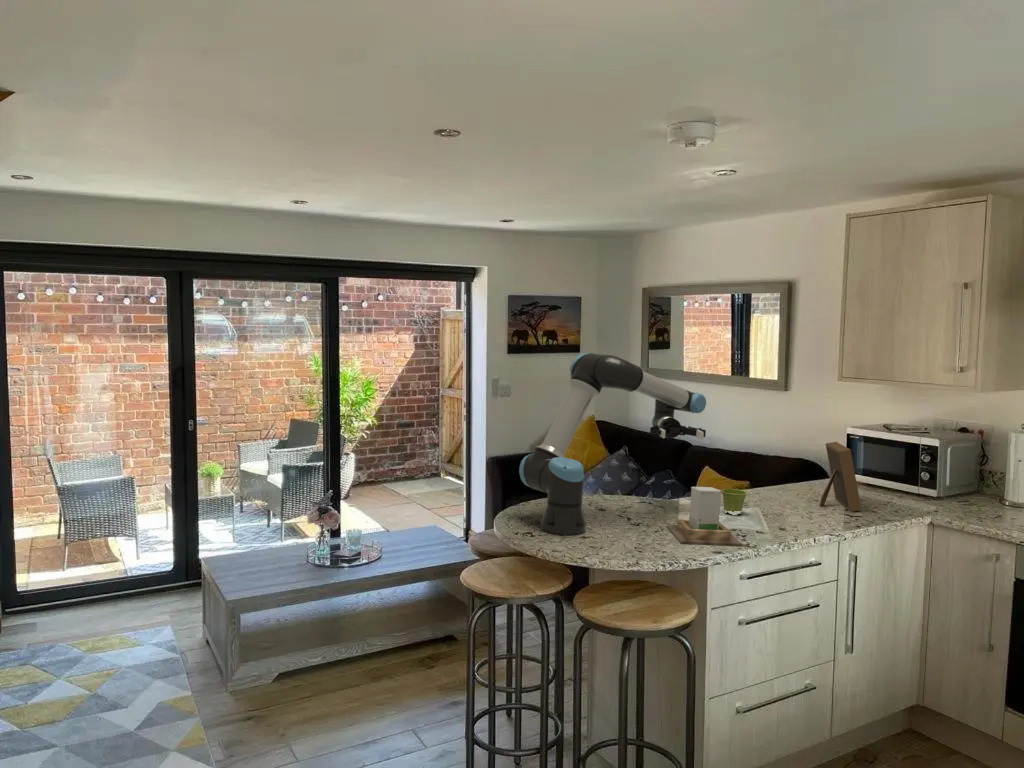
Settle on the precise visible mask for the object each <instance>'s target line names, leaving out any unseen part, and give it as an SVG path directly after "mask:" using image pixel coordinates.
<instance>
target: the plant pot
mask: <svg viewBox="0 0 1024 768" xmlns="http://www.w3.org/2000/svg"><path fill="white" fill-rule="evenodd" d="M720 491H721V494H722V497H723V511H724V510H726V511H732V512H734V511H743V507H744V502H745V499H746V496H747V495H748V492H747V491H745V490H742V489H736V488H735V489H734V488H723V489H721V490H720Z"/></svg>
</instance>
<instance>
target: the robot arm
mask: <svg viewBox="0 0 1024 768" xmlns="http://www.w3.org/2000/svg"><path fill="white" fill-rule="evenodd" d="M569 372H570V373H569V375H570V380H569V383H570V389H569V390H568V393H567V395H566V397H565V399H564V400H563V402H562V405H561V406H560V408H559V410H558V412H557V415H556V417H555V419H554V420H553V422H552V424H551V426H550V429H549V430H548V433H547V434H546V436H545V438H544V440H543V442H542V443H541V444H540V445H537V446H535V448H534V451H533V452H532V453H529V454H528V455H525V456H524V457H523V459H522V460H521V461H520V465H519V470H518V472H519V473H518V474H519V476H520V477H519V478H520V480H521V482H522V483H523V484H524V485H525V486H527V487H528V488H530V489H531V490H535V491H540V492H543V493H545V494H547V503H546V507H545V509H544V513H543V515H542V518H541V520H540V529H541V530H542V531H544V532H547V533H550V534H554V535H562V536H571V535H572V536H573V535H574V536H575V535H580V534H583V533H585V532H586V529H587V523H586V520H585V516H584V512H583V508H582V505H583V490H584V489H583V488H584V478H585V474H584V466H583V464H582V463H581V462H580V461H578V460H577V459H576V460H575V459H573V458H568V457H565V454H566V452H567V450H568V448H569V447H570V444H571V442H572V440H573V438H574V435H575V434H576V432H577V431H578V428H579V426H580V424H581V421H582V419H583V418H584V416H585V414H586V412H587V410H588V407H589V406H590V403H591V402H592V399H594V398H595V397H598V396H599V395H600V394H601V391H602V389H603V388H606V389H607V388H608V389H619V390H622V391H623V390H625V391H627V392H629V393H631V392H637V393H639V394H642V395H644V396H647V397H649V398H652V399H654V400H655V401H654V415H653V417H652V419H651V424H652V425H651V427H650V429H649V435H654V437H655V438H658V437H660V438H662V439H665V438H668V439H675V438H677V437H678V436H692V437H696V438H698V439H699V440H700V441H704V438H705V437H706V434H707V433H706V432H707V430H706V429H704V428H703V429H702V427H698V428H697V427H693V426H691V425H689V426H686V425H681V423H680V421H679V420H678V419H676V418H675V417H674V416H675V411H679V412H680V411H681V412H686V413H692V414H700V413H703V412H704V410H705V408H706V407H707V406H706V405H707V399H706V396H705V395H704V394H702V393H698V392H692V391H690V390H688V389H685V388H682V387H680V386H678V385H676V384H673V383H671V382H669V381H666V380H665V379H662V378H659V377H658V376H655V375H652V374H650V373H648V372H646V371H644V370H643V368H642V367H641V366H638V365H636V364H635V363H632V362H630V361H628V360H626V359H623V358H621V357H619V356H616V355H612V354H602V353H593V352H588V353H586V352H585V353H581V354H579V355H577V356H576V357H575V358H574V359H573V361H572V362H571V364H570V368H569Z"/></svg>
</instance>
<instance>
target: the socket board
mask: <svg viewBox="0 0 1024 768" xmlns="http://www.w3.org/2000/svg"><path fill="white" fill-rule="evenodd" d="M666 528H667V530H668V531H669V532H670V533H671V535H673V537H674V538H675V539H676V540H677V541H678V543H679V544H680V545H703V546H704V545H705V546H724V547H726V546H730V547H731V546H732V547H743V543H742V542H741V541H740V540H739V539H738V538H737V537H735V536H734V535H733V534H732V533H731V531H730V530H729V529H728V527H726V526H725V525H724V524H723V523H721V522H720V521H719V527H718V530H703V529H691V528H690V527H689V519H684V518H682V519H681V518H678V519H677V525H675V524H674V525H673V524H672V525H671V524H667V525H666Z"/></svg>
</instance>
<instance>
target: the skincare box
mask: <svg viewBox="0 0 1024 768" xmlns="http://www.w3.org/2000/svg"><path fill="white" fill-rule="evenodd" d="M690 490H691V491H690V504H689V514H688V515H689V516H688V520H689V527H690V528H691V529H703V530H718V527H719V522H720V513H721V501H722V500H721V499H722V491H721V490H720V489H717V488H715V487H712V486H711V487H710V486H709V487H708V486H691V487H690Z"/></svg>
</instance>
